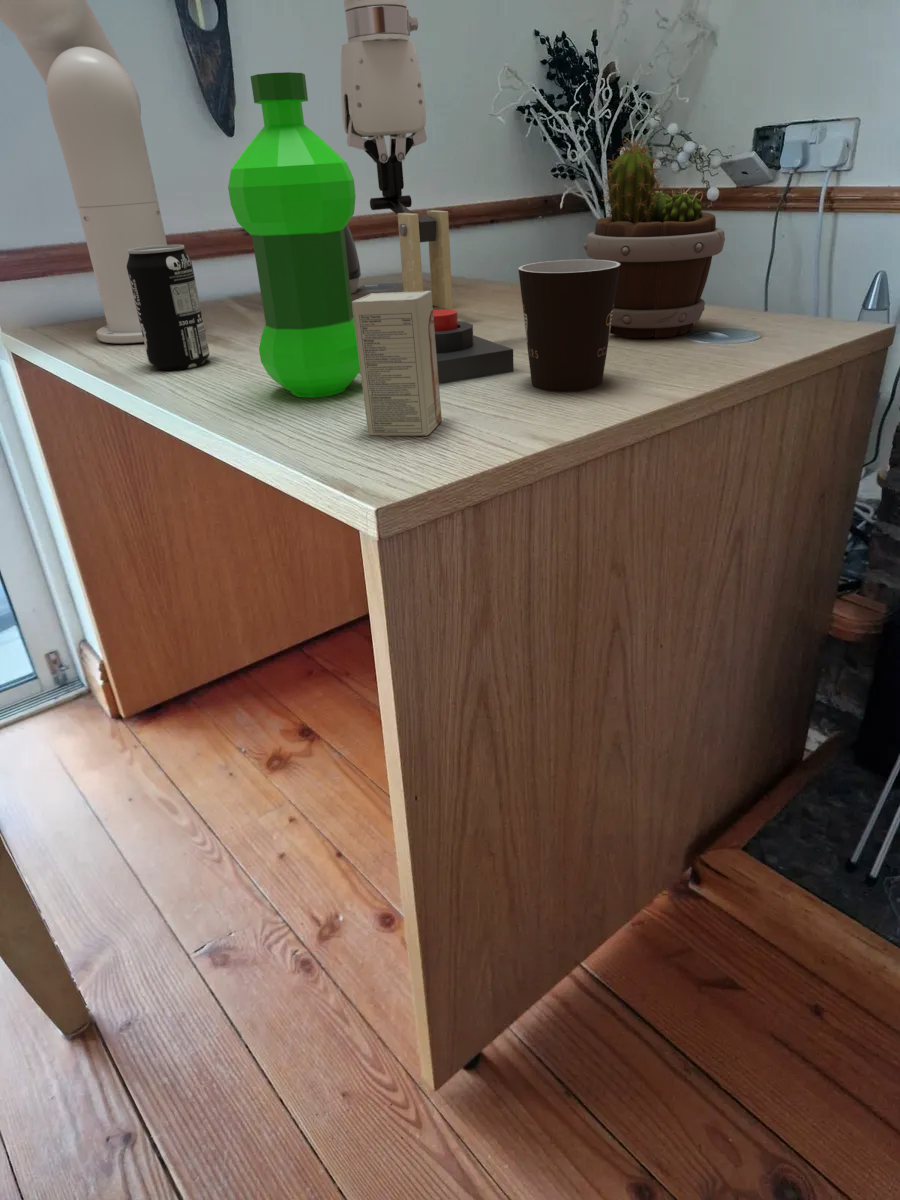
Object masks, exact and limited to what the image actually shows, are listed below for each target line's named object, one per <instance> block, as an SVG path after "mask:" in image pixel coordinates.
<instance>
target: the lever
mask: <svg viewBox="0 0 900 1200" xmlns="http://www.w3.org/2000/svg"><path fill="white" fill-rule="evenodd" d="M412 204H413V203H412V197H411V195H410V194H407V195H402V196H398V197H396V196H394V197H383V196H381V197H371V198H370V199H369V206H370V209H371V211H380V210H391V211H392V212H393V213H394V214H395V215H397V216H398V213H413V214H415V213H414V212H413V211H411V210H410V209H408V208H411V207H412ZM418 220H419V235H420V243H429V242H430V241H436V220H434V219H433V218H432V217H430V216H429V215H428V214H427V213H425V214H418Z"/></svg>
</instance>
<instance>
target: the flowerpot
mask: <svg viewBox="0 0 900 1200" xmlns="http://www.w3.org/2000/svg"><path fill="white" fill-rule="evenodd" d="M630 132H631V135H632V138H633V142H631V141H630V140H629V138H627V137H626V136H624V139H626V140H623V142H621V143H622V145H623V147H622V146H620V148H619V147H618V149H617V152H619V154H620V155H618V156H617V157H616V158H615V159H614V155H611V156H612V160H611V159H608V161H609V162H608V163H607V165H606V167H608V169H606V172H607V173H606V174H604V177H603V179H604V181H601V182H600V183H604V187H603V190H604V191H605V192H606V193H603V197H602V199H601V201H602V202H605V203H604V205H603V206H604V208H605V209H606V212H607V213H605V214H604V216H605V215H606V217H601V218H597V220H596V223H595V229H594V231H592V232H589V233H588V234H587V236H586V240H585V242H584V243H583V249H584V250H585V253H586V255H587V257H588V258H590V259H592V260H607V261H615V262H618V263H620V270H619V276H618V283H617V289H616V296H615V302H614V309H613V315H612V322H611V328H610V334H612V335H615V336H618V337H622V338H633V339H646V338H647V339H650V338H651V337H653V338H655V339H657V338H658V339H659V338H673V337H675V336H681V335H685V334H686V333H687V332H690V331H692V330H693V328H694V324H695V323H696V322H698V321H699V320H700V319H701V317H702V314H703V312H704V311H705V305H706V302H705V300H704V299H703V298H702V295H703V292H704V290H705V287H706V284H707V281H708V277H709V273H710V269H711V265H712V260H713V257H714V256H717V255H718V254H720V253H721V252H722V251H723V249H724V245H725V241H726V238H725V237H726V236H725V235H726V234H725V231H724V229H723V228H721V227H717V219H716V215H714V214H713V213H710V212H706V211H705V212H703V211H702V206H701V205H702V204H701V202H702V199H703V195H704V194H703V193H701V191H698V190H696V191H695V193H694V194H690V193H688V192H689V190H691V189H692V188H694V187H695V185H693V186H690V187H688V189H687V190H686V189H685V187H686V186H687V185H685V187H682V186H683V183H682V184H681V187H680V189H682V190H680V193H678V194H677V192H676V190H673V188H671V187H670V189H671V193H672V194H671V195H670V194H668V191H666V192H664V191H665V190H666V189H667V188H668V187H669V185H667V184H664V185H663V187H661V186H660V185H661V183H662V182H664V179H663V180H661V176H660V174H659V173H658V171H659V170H661V171H663V169H662V168H658V167H659V166H661V164H660V163H659V162H660V159H661V157H660V158H656V157H657V156H656V153H654V157H652V156H653V155H650V152H652V149H649V148H648V142H646V144H645V141H648V139H644V138H641V139H639V140H638V139H636V140H635V136H634V133H633V131H632V130H630ZM625 143H626V144H625ZM641 143H643V144H641ZM639 144H640V145H639ZM650 156H651V157H650ZM609 166H610V167H609ZM606 176H607V178H605V177H606ZM655 176H656V177H655ZM657 177H658V178H657ZM700 193H701V198H700V199H699V198H697V197H698V195H699V194H700ZM607 206H608V207H607ZM606 207H607V208H606Z"/></svg>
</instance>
